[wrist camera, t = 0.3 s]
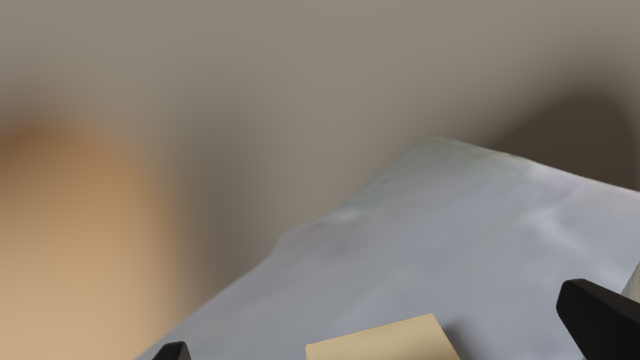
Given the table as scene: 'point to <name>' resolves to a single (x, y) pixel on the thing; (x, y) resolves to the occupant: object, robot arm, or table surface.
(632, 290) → the canister
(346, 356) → the oak board
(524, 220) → the table surface
